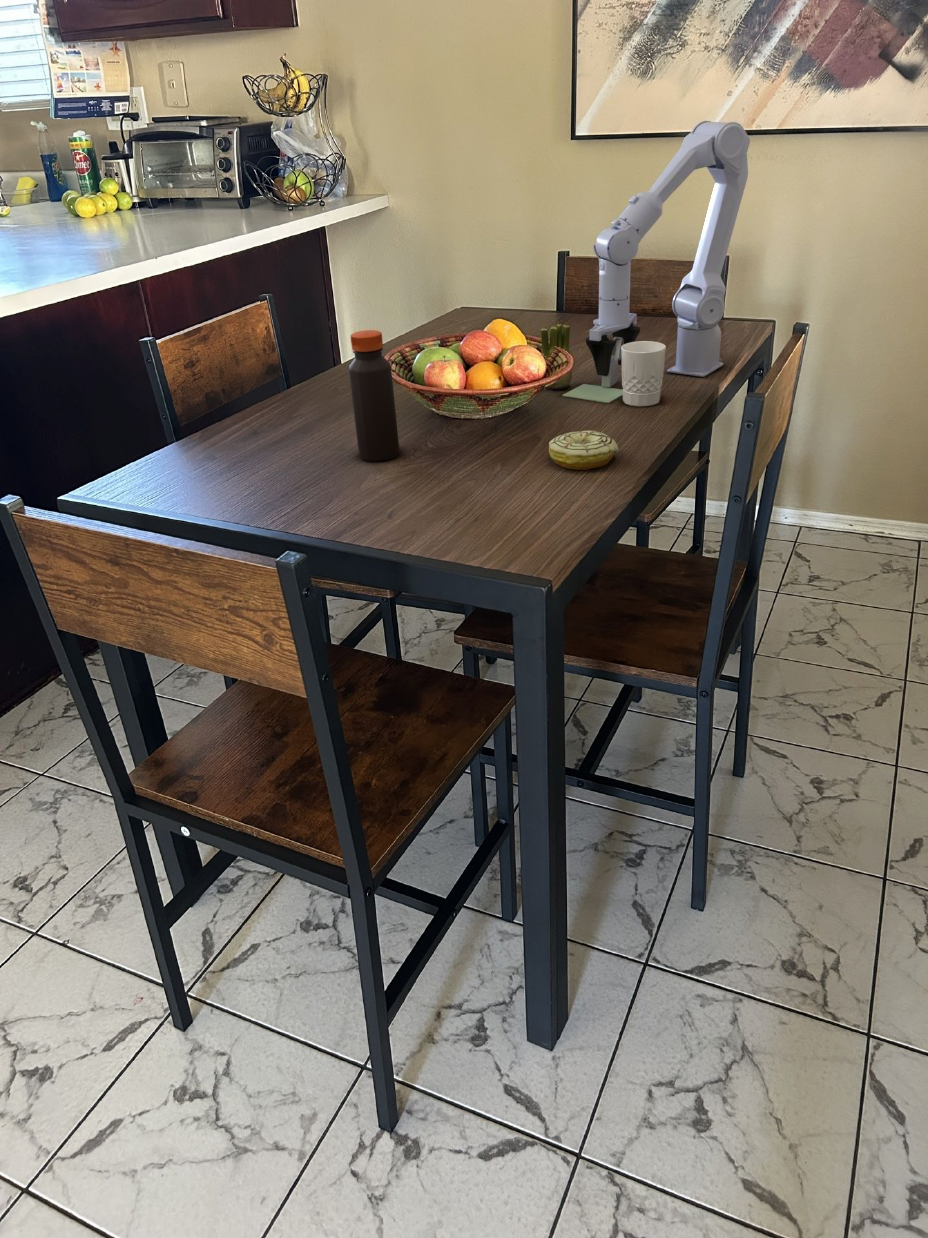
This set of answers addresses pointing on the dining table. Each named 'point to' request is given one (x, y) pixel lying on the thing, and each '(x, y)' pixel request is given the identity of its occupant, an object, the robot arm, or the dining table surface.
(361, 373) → the bottle
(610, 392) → the sticky note
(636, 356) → the white cup
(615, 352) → the lighter
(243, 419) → the dining table surface
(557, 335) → the fennel bulb
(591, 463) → the decorated donut
